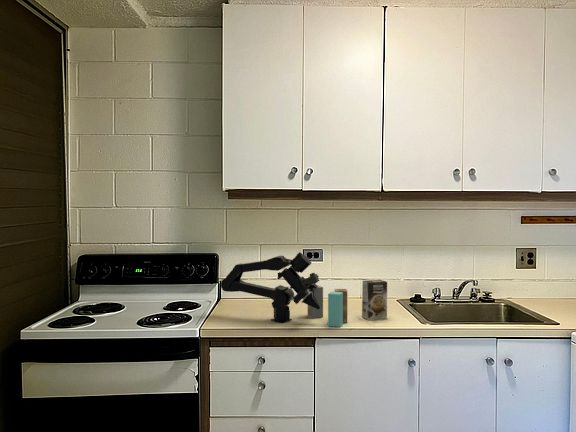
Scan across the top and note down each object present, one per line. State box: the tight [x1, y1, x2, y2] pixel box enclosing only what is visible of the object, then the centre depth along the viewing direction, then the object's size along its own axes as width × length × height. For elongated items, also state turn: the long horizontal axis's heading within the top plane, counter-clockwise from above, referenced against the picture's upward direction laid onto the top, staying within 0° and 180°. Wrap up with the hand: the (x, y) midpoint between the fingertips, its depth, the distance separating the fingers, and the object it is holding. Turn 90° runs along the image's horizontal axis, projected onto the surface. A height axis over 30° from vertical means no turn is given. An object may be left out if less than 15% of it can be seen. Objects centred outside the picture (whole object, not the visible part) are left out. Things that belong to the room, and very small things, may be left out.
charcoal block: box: [307, 284, 324, 319], centre depth 194 cm, size 5×5×13 cm
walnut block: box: [334, 288, 348, 323], centre depth 186 cm, size 5×5×13 cm
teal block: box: [327, 291, 344, 328], centre depth 180 cm, size 5×5×13 cm
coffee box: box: [361, 279, 388, 321], centre depth 191 cm, size 9×6×16 cm
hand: (319, 308), depth 182 cm, fingers closed
